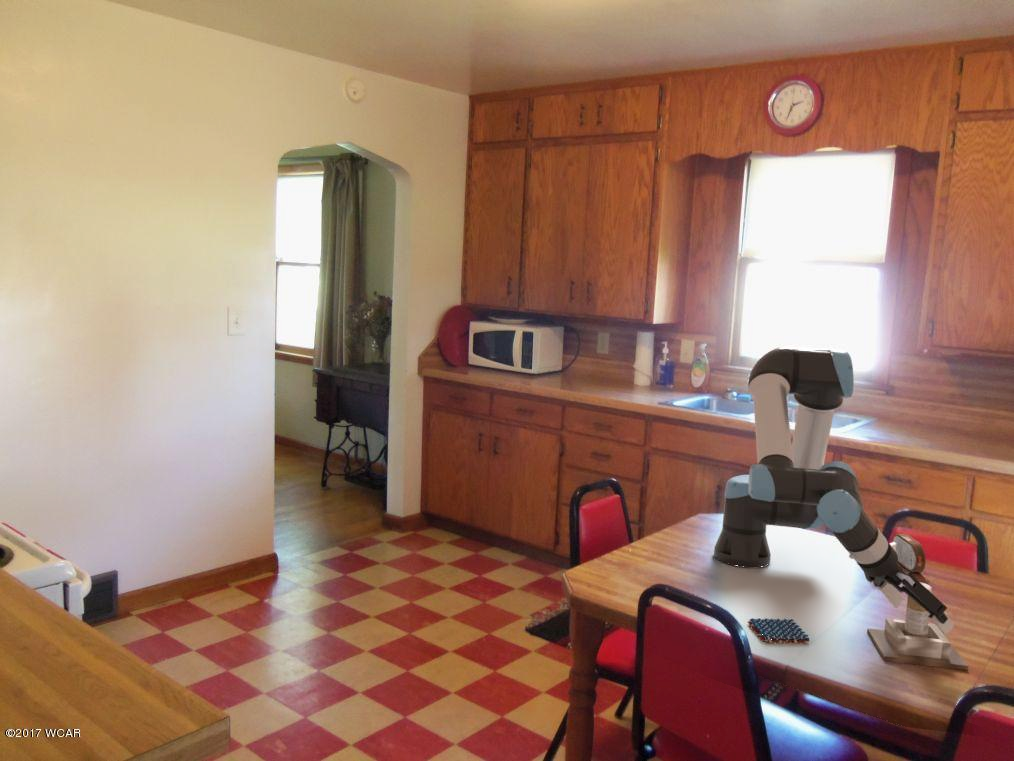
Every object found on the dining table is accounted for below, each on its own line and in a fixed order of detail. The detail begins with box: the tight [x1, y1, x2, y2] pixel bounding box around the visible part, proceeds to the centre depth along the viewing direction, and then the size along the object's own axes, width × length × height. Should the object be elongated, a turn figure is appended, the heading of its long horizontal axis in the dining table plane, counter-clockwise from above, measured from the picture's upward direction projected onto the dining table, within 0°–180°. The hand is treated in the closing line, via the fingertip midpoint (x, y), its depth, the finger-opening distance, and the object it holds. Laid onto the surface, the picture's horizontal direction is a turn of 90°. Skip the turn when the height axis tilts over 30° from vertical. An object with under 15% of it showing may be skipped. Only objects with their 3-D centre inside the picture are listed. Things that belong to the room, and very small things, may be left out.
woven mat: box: [747, 617, 810, 645], centre depth 181 cm, size 10×11×2 cm
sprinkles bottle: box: [905, 582, 933, 638], centre depth 175 cm, size 5×5×14 cm
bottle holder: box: [866, 618, 969, 671], centre depth 175 cm, size 16×14×4 cm
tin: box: [892, 533, 927, 574], centre depth 228 cm, size 15×3×8 cm, turn 179°
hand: (923, 615), depth 175 cm, fingers open, 13 cm apart
